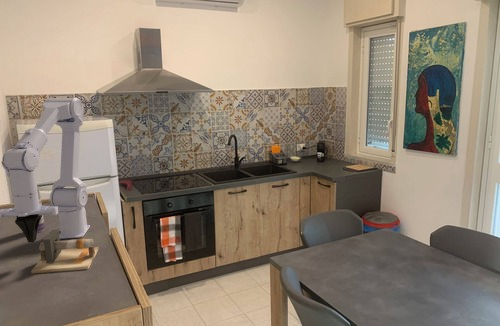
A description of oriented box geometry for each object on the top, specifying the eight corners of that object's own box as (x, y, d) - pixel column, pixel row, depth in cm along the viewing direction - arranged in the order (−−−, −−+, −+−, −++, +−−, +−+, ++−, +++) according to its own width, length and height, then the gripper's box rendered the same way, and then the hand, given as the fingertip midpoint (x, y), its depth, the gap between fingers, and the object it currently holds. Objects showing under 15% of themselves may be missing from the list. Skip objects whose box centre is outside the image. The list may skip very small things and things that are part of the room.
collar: (55, 251, 106) (52, 229, 104) (61, 251, 106) (58, 229, 104) (46, 263, 99) (43, 239, 98) (53, 262, 99) (49, 239, 98)
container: (26, 231, 123) (19, 188, 120) (39, 226, 127) (33, 185, 124) (34, 234, 121) (28, 190, 117) (48, 229, 125) (42, 186, 121)
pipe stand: (48, 252, 108) (46, 234, 106) (98, 249, 110) (96, 230, 108) (31, 273, 96) (28, 252, 95) (88, 268, 98) (85, 248, 97)
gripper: (-13, 199, 93) (-4, 249, 96) (49, 196, 95) (55, 245, 98) (1, 191, 99) (8, 238, 102) (58, 188, 102) (64, 234, 105)
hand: (32, 240), depth 101 cm, fingers closed
